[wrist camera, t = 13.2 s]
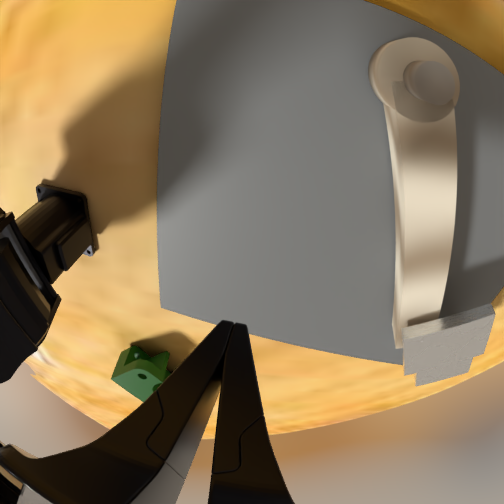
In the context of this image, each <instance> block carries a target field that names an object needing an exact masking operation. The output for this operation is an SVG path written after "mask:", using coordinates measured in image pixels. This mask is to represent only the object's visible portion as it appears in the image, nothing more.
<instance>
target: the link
mask: <svg viewBox="0 0 504 504" xmlns="http://www.w3.org/2000/svg"><path fill="white" fill-rule="evenodd" d="M368 77H369V82H370V85H371V87H372V89H373V91H374V93H375V94H376V96H377V97H378V98H379V100H380V101H381V102H382V103H383V105H384V111H385V117H386V124H387V130H388V137H389V145H390V154H391V163H392V174H393V186H394V202H395V230H396V261H395V289H394V305H393V318H392V327H393V334H394V340H395V347H396V349H398V348H402V332H401V328H405V327H409V326H413V325H417V324H421V323H425V322H429V321H433V320H436V319H438V318H439V314H440V310H441V306H442V301H443V297H444V292H445V287H446V282H447V276H448V270H449V264H450V258H451V251H452V243H453V235H454V225H455V213H456V197H457V139H456V123H455V112H454V107H455V106H456V103H457V101H458V98H459V93H460V82H459V76H458V73H457V70H456V67H455V65H454V63H453V62H452V60H451V59H450V57H449V56H448V55H447V54H446V52H445V51H444V50H442V49H441V48H440V47H439V46H437V45H436V44H434V43H433V42H431V41H428V40H426V39H422V38H417V37H408V38H403V39H399V40H395V41H391V42H388V43H385V44H383V45H381V46H380V47H379V48H378V49H376V51H375V52H374V53H373V55H372V56H371V59H370V61H369V65H368Z"/></svg>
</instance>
